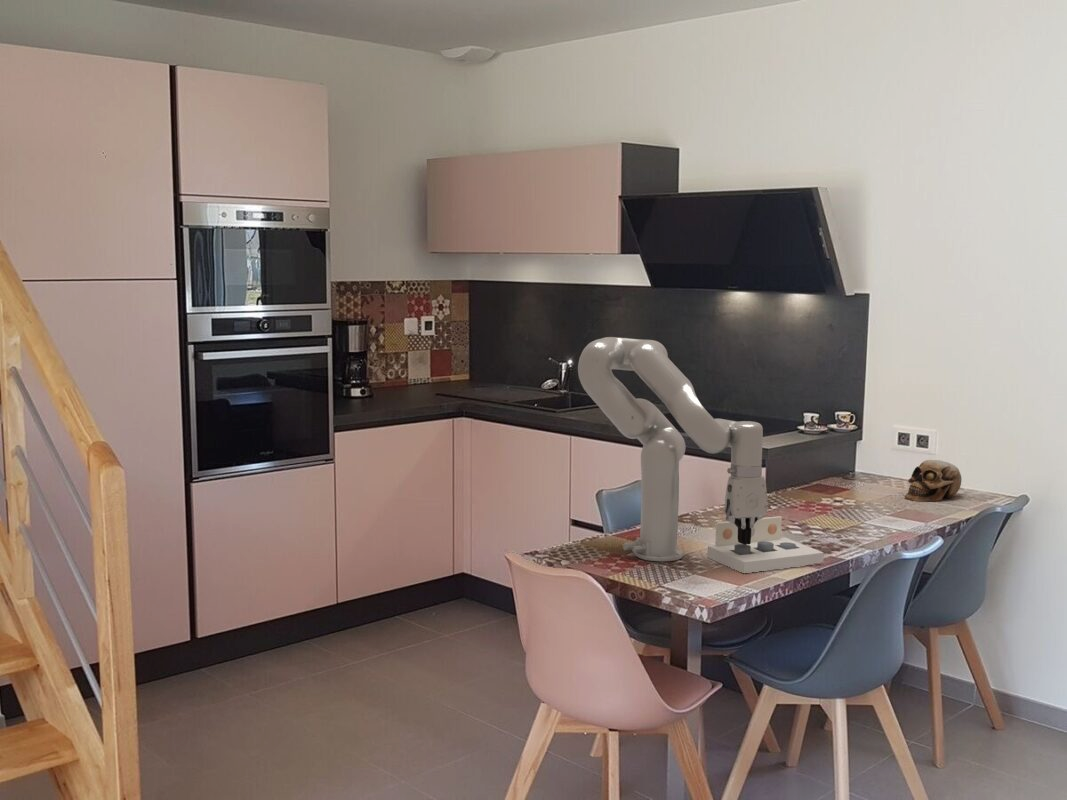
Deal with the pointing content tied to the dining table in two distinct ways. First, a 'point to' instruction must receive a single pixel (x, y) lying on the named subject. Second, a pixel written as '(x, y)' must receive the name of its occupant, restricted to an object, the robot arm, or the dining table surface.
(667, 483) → the robot arm
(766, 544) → the button middle
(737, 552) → the button left
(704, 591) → the dining table surface
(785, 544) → the button right
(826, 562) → the dining table surface
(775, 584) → the dining table surface
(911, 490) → the brown skull
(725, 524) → the button panel
